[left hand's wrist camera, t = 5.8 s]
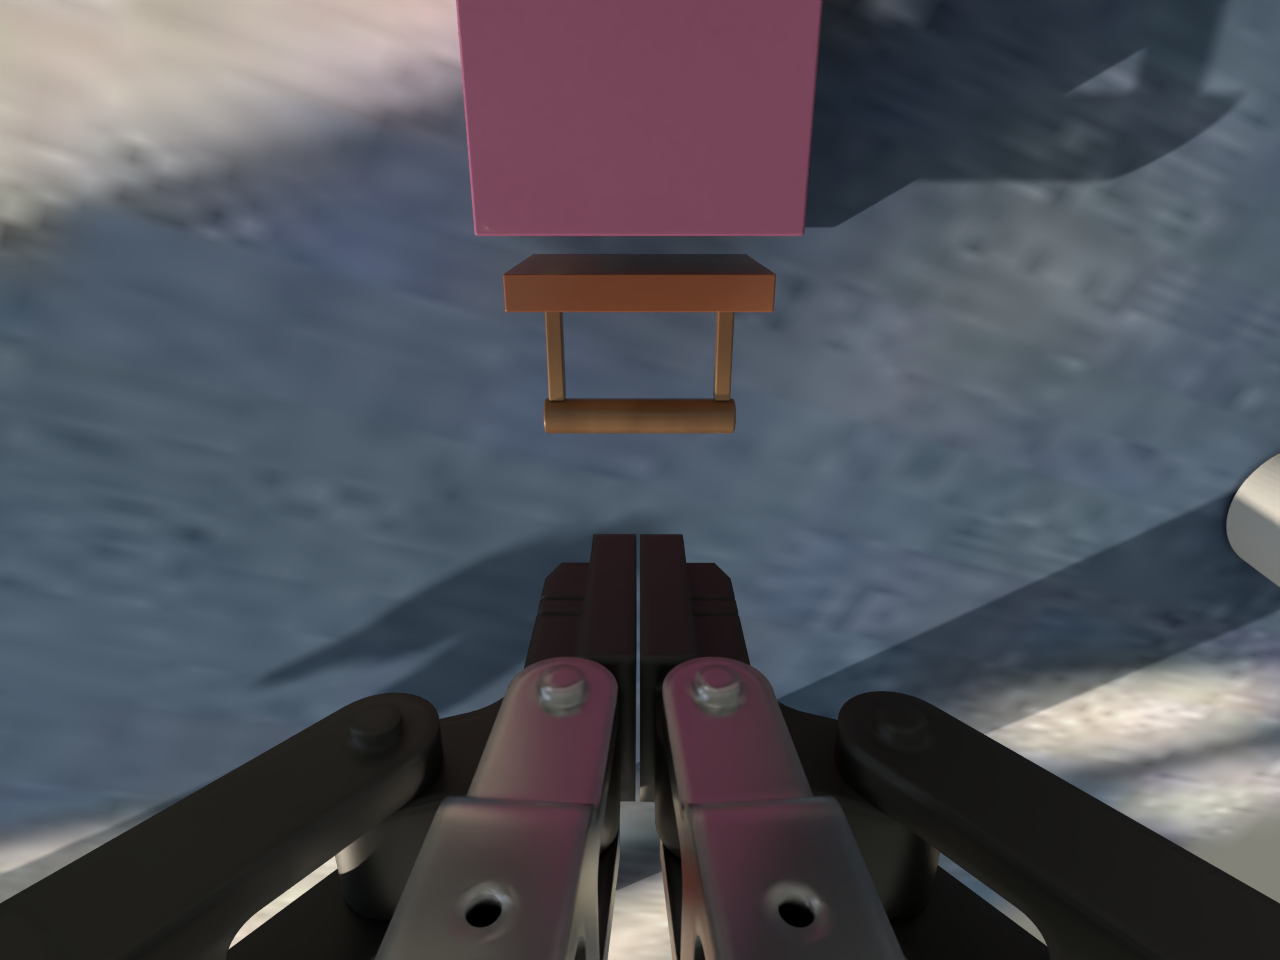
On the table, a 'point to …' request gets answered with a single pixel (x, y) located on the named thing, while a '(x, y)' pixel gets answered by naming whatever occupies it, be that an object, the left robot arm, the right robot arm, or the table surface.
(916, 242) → the table surface
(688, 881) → the left robot arm
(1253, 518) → the coffee cup
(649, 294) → the wooden drawer
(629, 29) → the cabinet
